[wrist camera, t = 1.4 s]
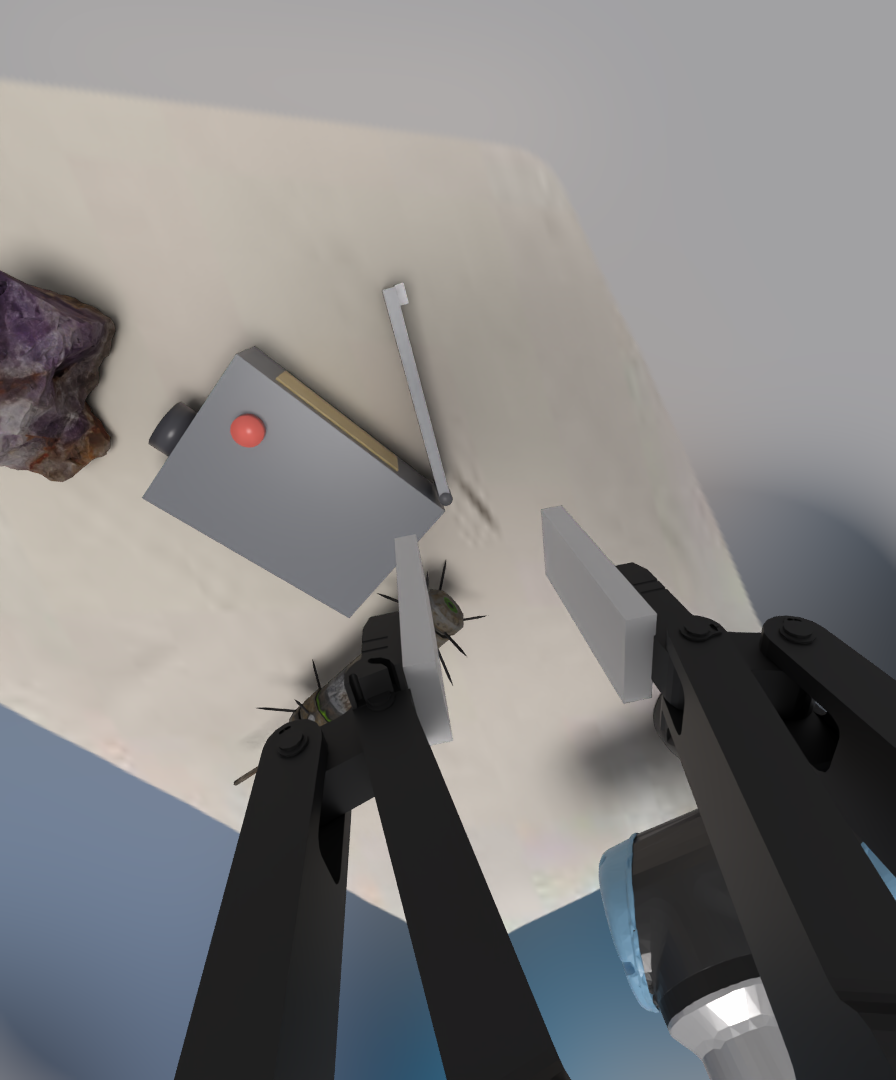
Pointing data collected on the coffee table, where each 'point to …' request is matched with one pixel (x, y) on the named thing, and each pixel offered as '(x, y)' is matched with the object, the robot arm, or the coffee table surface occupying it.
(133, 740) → the coffee table surface
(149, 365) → the coffee table surface
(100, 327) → the rock
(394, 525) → the camera body
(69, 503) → the coffee table surface
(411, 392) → the side door
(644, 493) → the coffee table surface
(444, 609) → the bomb
